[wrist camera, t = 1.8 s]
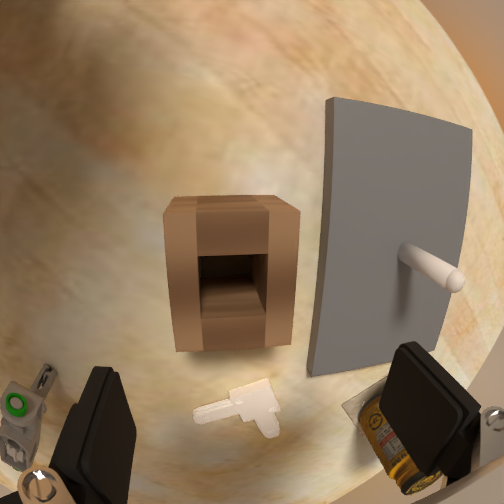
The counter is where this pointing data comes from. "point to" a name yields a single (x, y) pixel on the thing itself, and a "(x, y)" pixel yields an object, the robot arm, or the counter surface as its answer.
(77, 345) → the counter surface
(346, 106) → the pin board
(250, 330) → the hollow block
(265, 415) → the corner connector
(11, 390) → the mechanical component
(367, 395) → the condiment
